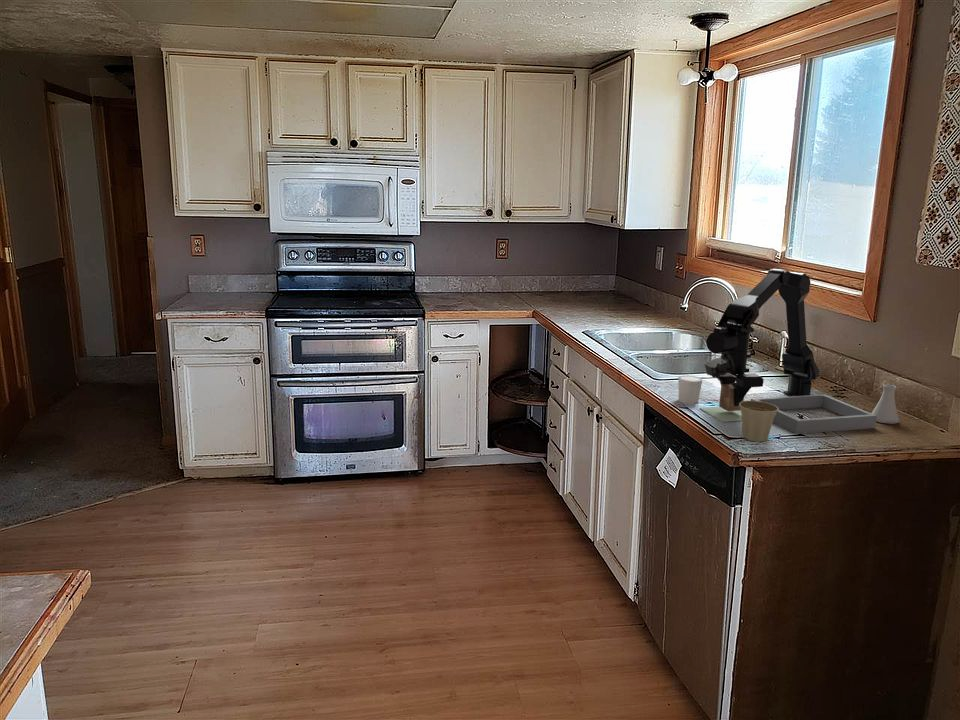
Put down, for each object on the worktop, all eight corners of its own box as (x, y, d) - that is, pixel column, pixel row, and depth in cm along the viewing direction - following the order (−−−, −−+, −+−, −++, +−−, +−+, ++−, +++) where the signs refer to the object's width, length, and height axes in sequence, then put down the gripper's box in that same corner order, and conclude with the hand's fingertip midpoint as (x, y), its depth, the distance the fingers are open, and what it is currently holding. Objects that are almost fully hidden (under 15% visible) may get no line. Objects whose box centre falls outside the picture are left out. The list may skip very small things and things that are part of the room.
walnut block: (719, 406, 208) (721, 384, 207) (733, 405, 209) (735, 383, 208) (728, 411, 204) (730, 388, 202) (742, 410, 205) (744, 387, 204)
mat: (699, 409, 211) (699, 407, 211) (736, 406, 214) (736, 405, 214) (722, 422, 200) (723, 420, 200) (761, 419, 203) (761, 418, 203)
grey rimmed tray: (749, 410, 211) (751, 398, 210) (822, 405, 217) (824, 394, 216) (796, 433, 192) (797, 421, 191) (874, 428, 198) (876, 415, 197)
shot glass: (684, 396, 224) (686, 374, 222) (704, 401, 219) (706, 378, 217) (671, 400, 219) (673, 377, 217) (692, 405, 214) (694, 382, 213)
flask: (889, 416, 208) (895, 382, 206) (904, 424, 201) (910, 389, 199) (864, 416, 208) (869, 382, 206) (878, 424, 201) (884, 389, 199)
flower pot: (763, 431, 193) (766, 400, 191) (782, 444, 184) (786, 411, 182) (729, 432, 192) (732, 400, 190) (746, 445, 183) (750, 411, 181)
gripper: (692, 342, 209) (688, 395, 213) (730, 358, 192) (724, 415, 196) (727, 341, 212) (722, 393, 216) (767, 356, 195) (761, 412, 198)
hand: (731, 403), depth 206 cm, fingers closed on walnut block, 4 cm apart
